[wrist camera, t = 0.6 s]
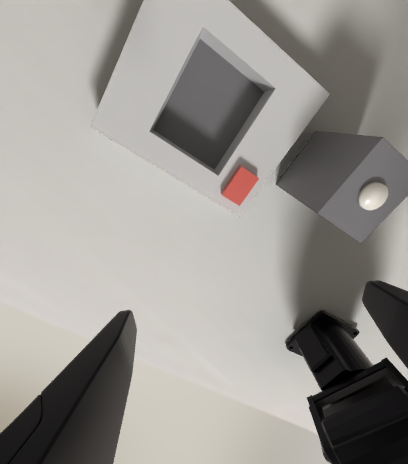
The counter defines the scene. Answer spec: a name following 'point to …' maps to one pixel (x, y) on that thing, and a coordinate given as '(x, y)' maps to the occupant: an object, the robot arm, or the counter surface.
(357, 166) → the plug
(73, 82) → the counter surface
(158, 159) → the socket
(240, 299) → the counter surface
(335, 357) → the robot arm
